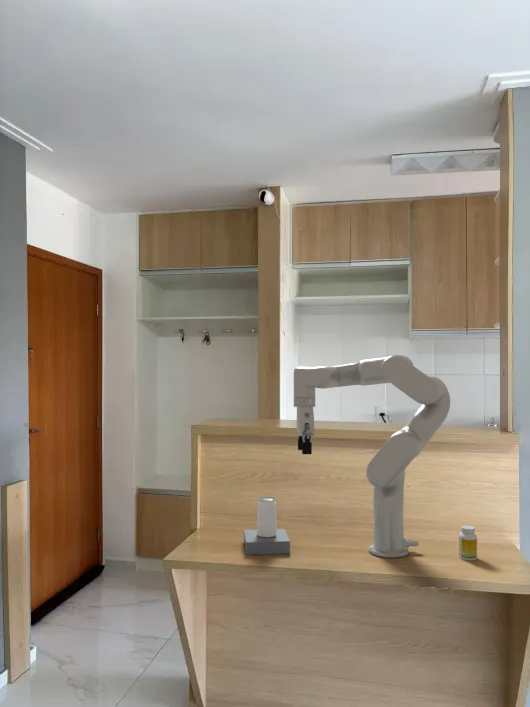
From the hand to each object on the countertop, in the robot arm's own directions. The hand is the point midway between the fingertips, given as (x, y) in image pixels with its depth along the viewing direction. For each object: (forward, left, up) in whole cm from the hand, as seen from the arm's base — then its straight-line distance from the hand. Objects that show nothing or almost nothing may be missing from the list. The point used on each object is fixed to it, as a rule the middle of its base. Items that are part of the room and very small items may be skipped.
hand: (304, 451), depth 200 cm
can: (+14, +7, -26) cm, 31 cm away
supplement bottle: (-48, +23, -31) cm, 61 cm away
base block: (+14, +7, -30) cm, 34 cm away
